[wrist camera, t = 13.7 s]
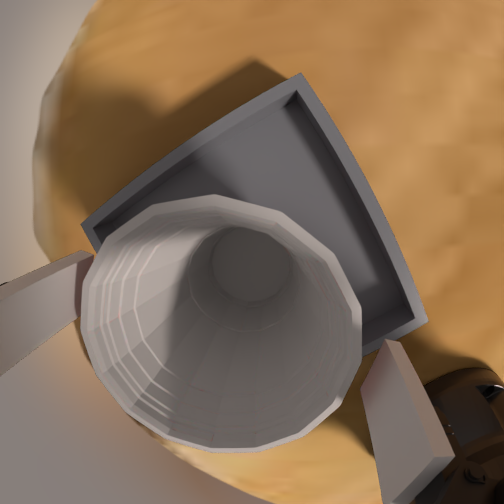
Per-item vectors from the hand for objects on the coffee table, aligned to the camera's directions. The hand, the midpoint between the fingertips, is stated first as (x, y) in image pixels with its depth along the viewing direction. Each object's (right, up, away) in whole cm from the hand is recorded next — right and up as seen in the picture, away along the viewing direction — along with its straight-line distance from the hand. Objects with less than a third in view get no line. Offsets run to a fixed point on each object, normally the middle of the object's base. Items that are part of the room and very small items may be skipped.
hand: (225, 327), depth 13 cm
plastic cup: (+1, +2, +9) cm, 10 cm away
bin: (+1, +3, +10) cm, 10 cm away
